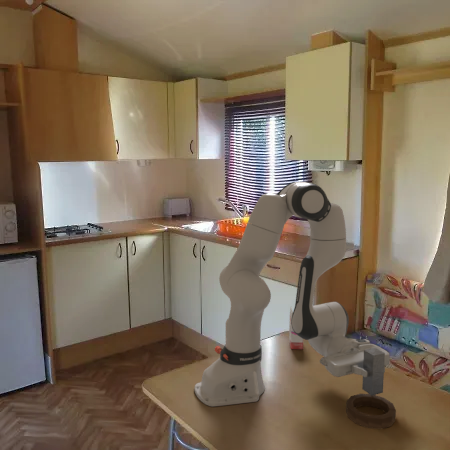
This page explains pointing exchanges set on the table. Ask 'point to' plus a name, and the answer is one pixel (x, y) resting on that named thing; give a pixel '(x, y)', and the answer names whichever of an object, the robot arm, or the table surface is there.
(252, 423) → the table surface
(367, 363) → the metal peg
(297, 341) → the ink cartridge box
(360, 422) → the walnut ring
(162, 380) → the table surface
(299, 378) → the table surface
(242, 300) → the robot arm
